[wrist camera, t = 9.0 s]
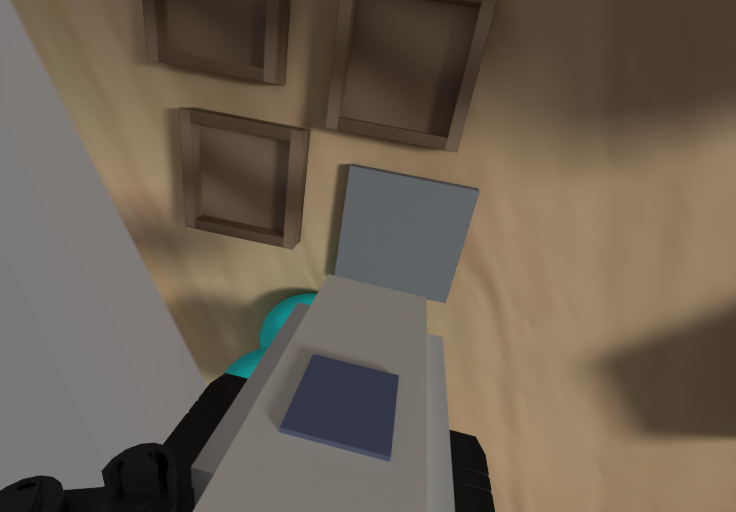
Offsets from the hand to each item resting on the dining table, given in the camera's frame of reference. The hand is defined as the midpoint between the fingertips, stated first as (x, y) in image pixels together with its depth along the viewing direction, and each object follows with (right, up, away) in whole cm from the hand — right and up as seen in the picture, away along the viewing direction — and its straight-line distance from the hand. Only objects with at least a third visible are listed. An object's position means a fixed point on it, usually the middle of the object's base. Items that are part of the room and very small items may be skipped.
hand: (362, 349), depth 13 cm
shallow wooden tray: (-9, +20, +9) cm, 23 cm away
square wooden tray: (-9, +9, +13) cm, 18 cm away
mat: (+3, +5, +13) cm, 14 cm away
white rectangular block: (0, +1, +1) cm, 2 cm away
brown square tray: (+3, +15, +9) cm, 18 cm away
